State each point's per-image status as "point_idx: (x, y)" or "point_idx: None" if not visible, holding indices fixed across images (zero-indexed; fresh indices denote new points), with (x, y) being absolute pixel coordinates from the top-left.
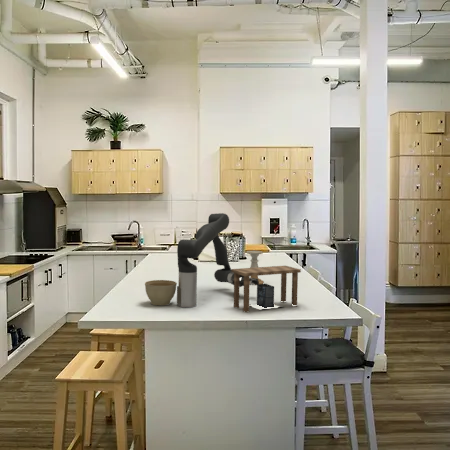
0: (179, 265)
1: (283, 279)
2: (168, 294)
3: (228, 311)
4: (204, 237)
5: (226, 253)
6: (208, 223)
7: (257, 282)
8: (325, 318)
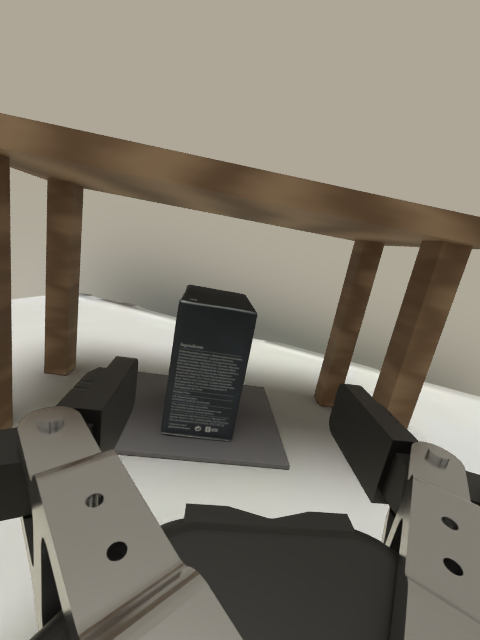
0: None
1: (9, 250)
2: None
3: (408, 428)
4: None
5: None
6: None
7: (136, 373)
8: (136, 310)
